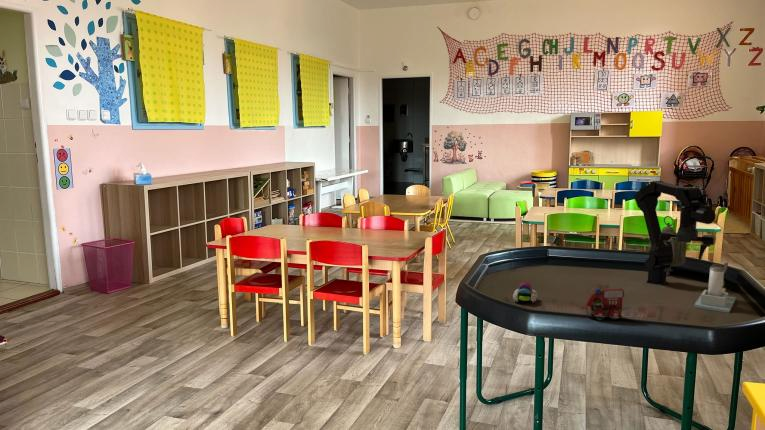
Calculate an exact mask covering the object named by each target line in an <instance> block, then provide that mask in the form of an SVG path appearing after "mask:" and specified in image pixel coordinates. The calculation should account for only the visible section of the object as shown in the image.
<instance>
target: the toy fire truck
mask: <svg viewBox="0 0 765 430" xmlns="http://www.w3.org/2000/svg"><path fill="white" fill-rule="evenodd" d="M624 297H625V291H624V289H622V288H603V289H601V288H596V289H595V290H594V292H593V293H591V294H590V296H589V298H588V300H587V301H586V303H585V313H586V314H587V315H589V314H593V315H599V316H607V314H608V317H609V316H611V317H620V318H621V317H622V312H623V299H624ZM593 315H592V316H593Z"/></svg>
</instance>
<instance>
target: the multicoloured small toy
mask: <svg viewBox="0 0 765 430" xmlns="http://www.w3.org/2000/svg"><path fill="white" fill-rule="evenodd" d="M518 298H519V299H518ZM536 298H538V292H537V290H535V289H533V287H532V285H531V284H530V283H529V282H528V281H523V282H521V283H520V284H519V286H518V288H517V289H515V290H514V292H513V294H512V300H513V299H514V300H518V301H519V300H520V301H522V302H523V301H524V302H525V301H526V302H527V301H530V302H531V301H536V302H537V299H536ZM514 300H513V301H514Z"/></svg>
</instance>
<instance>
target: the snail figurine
mask: <svg viewBox="0 0 765 430" xmlns="http://www.w3.org/2000/svg"><path fill="white" fill-rule="evenodd" d="M726 261H727V262H724V263H723V265H724V266H723V265H722V264H720V263H713V264H711V266H710V267H722V268H724V274H726V272H727V269H728V266H729V263H728V262H729V259H726ZM724 286H725V280H724V279H723V287H724Z"/></svg>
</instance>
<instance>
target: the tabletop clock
mask: <svg viewBox="0 0 765 430" xmlns="http://www.w3.org/2000/svg"><path fill="white" fill-rule="evenodd" d="M667 218H669V219H670V220H671V224H670V222H666V219H667ZM663 223H664V225H666V226H664V227H663V228H661V232H664V231H667V232H673V234H676V235H677V232H675V229H674V227H672V226H673V225H674V219H673V217H672V216H669V215H666V216H664V218H663ZM673 240H674V258H673V261H672V263H671V266H670V268H666V271H667V276H670V273H672V272H673V269H672V267H680V266H682V265H684V264H685V262H686V258H687V257H686V256H687V242H678V241H677V239H673ZM665 244H666V243H665ZM666 245H667V244H666ZM650 247H651V242H650V239H649V241H648V251H649V250H650Z"/></svg>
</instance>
